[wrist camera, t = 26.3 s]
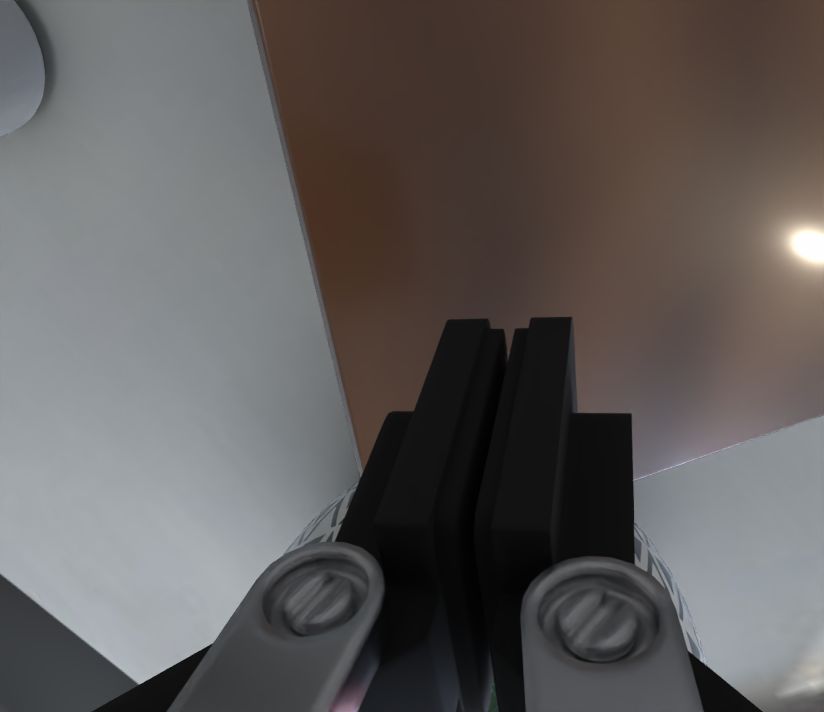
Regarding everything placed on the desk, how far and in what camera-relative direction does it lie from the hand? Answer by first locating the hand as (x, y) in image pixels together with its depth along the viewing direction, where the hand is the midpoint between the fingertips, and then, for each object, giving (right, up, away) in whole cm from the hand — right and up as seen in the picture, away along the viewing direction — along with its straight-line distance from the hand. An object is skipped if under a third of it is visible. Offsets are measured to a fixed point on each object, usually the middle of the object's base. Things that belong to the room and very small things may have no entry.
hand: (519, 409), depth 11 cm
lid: (+4, +4, +5) cm, 7 cm away
